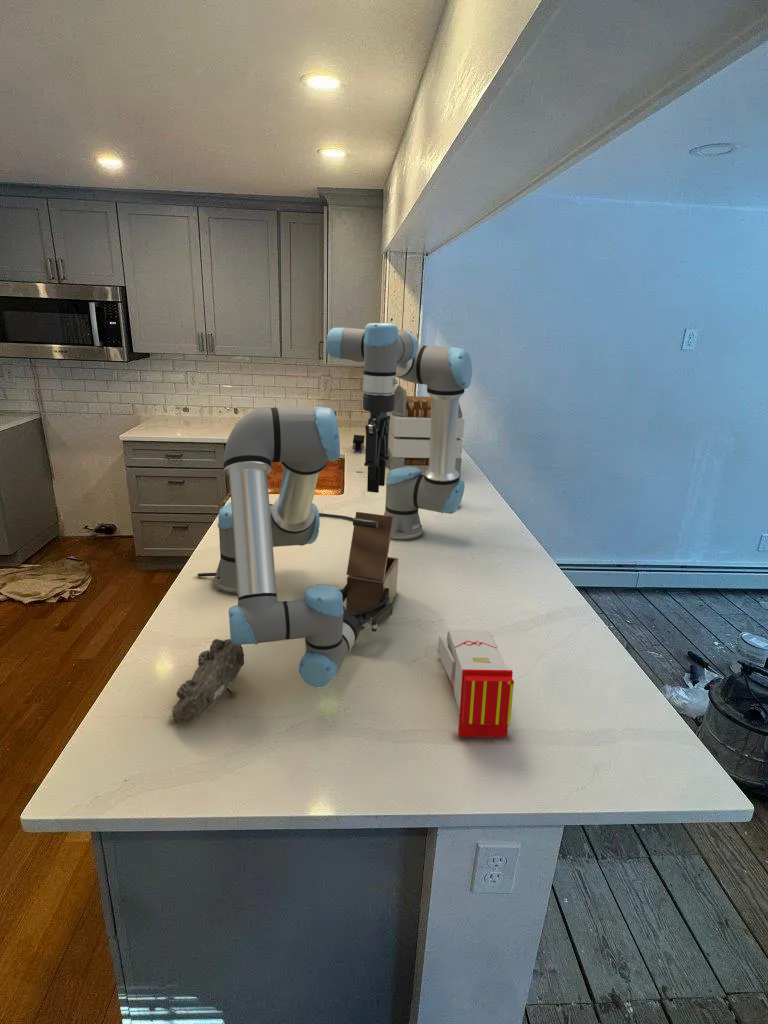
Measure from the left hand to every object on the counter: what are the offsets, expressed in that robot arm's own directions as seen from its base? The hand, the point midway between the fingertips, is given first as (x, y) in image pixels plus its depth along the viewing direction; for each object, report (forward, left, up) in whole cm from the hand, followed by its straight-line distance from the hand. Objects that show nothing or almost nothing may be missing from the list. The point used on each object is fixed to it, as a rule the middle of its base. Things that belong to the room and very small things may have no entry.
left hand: (368, 589), depth 146 cm
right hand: (0, +3, +26) cm, 27 cm away
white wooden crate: (-14, +136, -6) cm, 137 cm away
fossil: (-20, -41, -6) cm, 46 cm away
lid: (0, +1, +12) cm, 12 cm away
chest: (0, +4, -6) cm, 8 cm away
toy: (+30, -25, -6) cm, 39 cm away
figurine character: (-55, +167, -6) cm, 176 cm away
